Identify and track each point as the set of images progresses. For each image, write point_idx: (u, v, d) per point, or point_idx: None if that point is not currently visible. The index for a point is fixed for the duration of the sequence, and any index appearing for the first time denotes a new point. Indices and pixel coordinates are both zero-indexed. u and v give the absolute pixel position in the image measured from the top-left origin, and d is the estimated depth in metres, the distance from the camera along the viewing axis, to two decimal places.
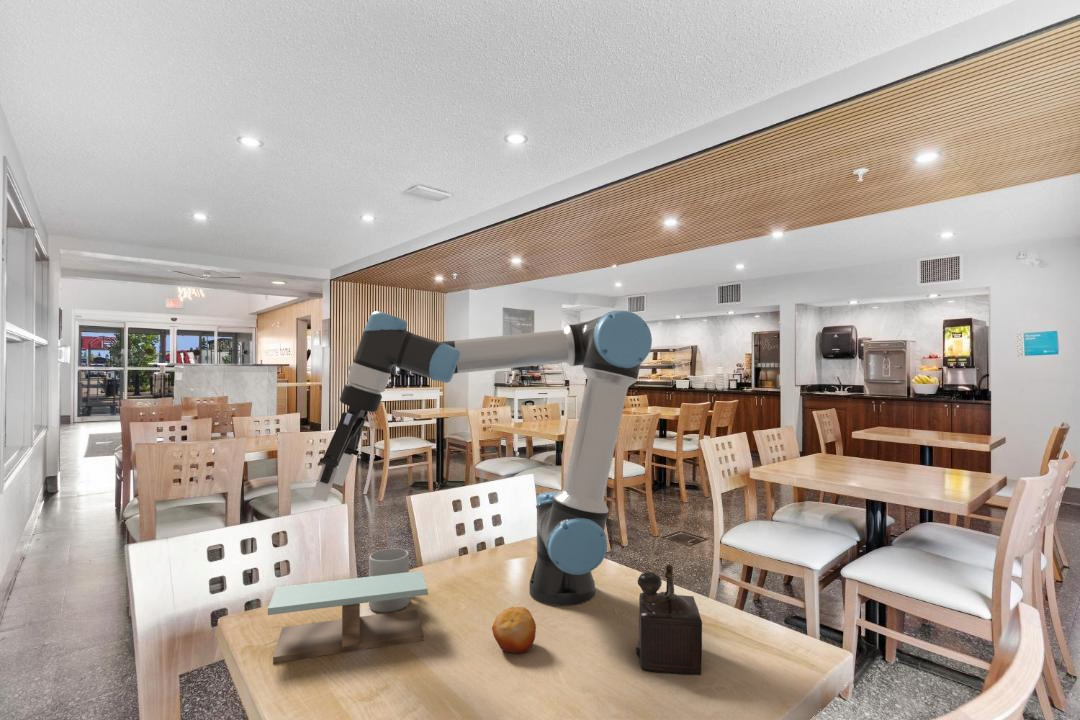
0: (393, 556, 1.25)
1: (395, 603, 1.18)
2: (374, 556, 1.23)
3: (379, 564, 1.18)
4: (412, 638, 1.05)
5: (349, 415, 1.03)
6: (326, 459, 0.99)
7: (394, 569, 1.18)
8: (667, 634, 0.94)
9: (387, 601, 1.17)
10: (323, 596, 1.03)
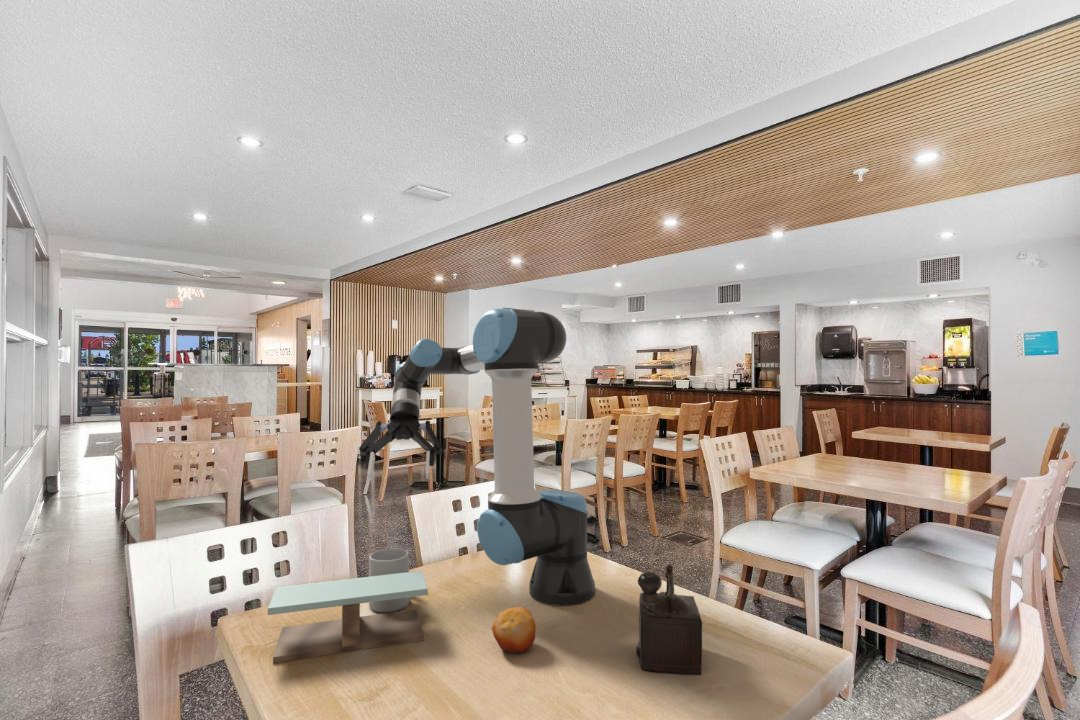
0: (393, 556, 1.25)
1: (395, 603, 1.18)
2: (374, 556, 1.23)
3: (379, 564, 1.18)
4: (412, 638, 1.05)
5: None
6: (360, 452, 1.38)
7: (394, 569, 1.18)
8: (667, 634, 0.94)
9: (387, 601, 1.17)
10: (323, 596, 1.03)
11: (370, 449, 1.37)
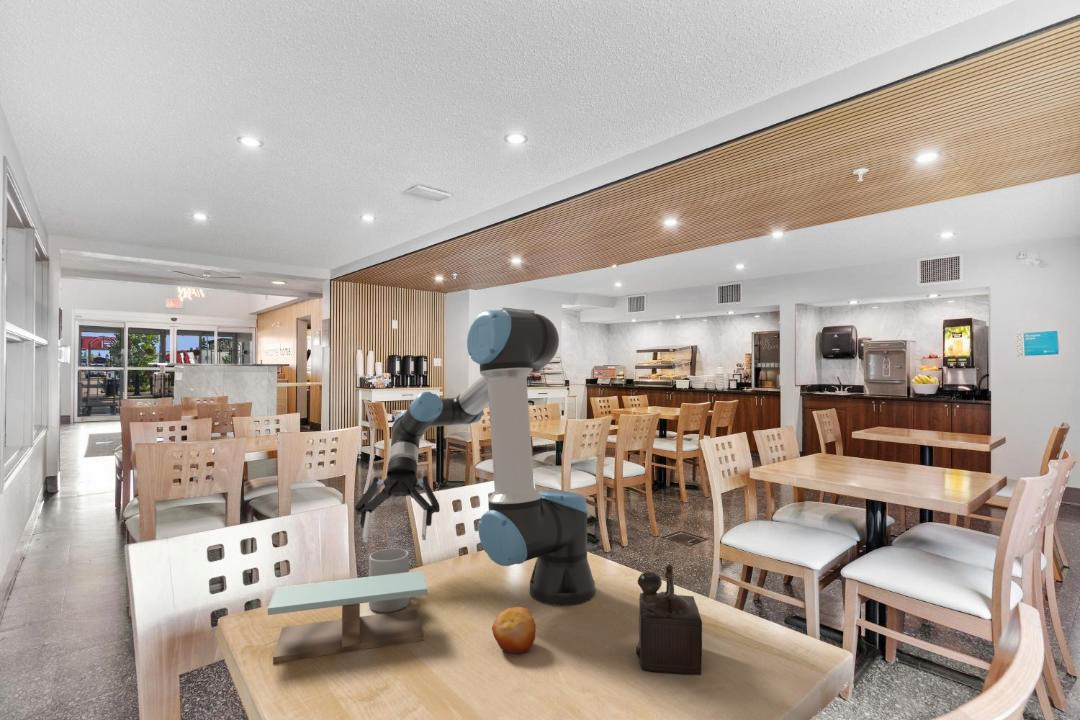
0: (393, 556, 1.25)
1: (395, 603, 1.18)
2: (374, 556, 1.23)
3: (379, 564, 1.18)
4: (412, 638, 1.05)
5: None
6: None
7: (394, 569, 1.18)
8: (667, 634, 0.94)
9: (387, 601, 1.17)
10: (323, 596, 1.03)
11: (366, 508, 1.34)
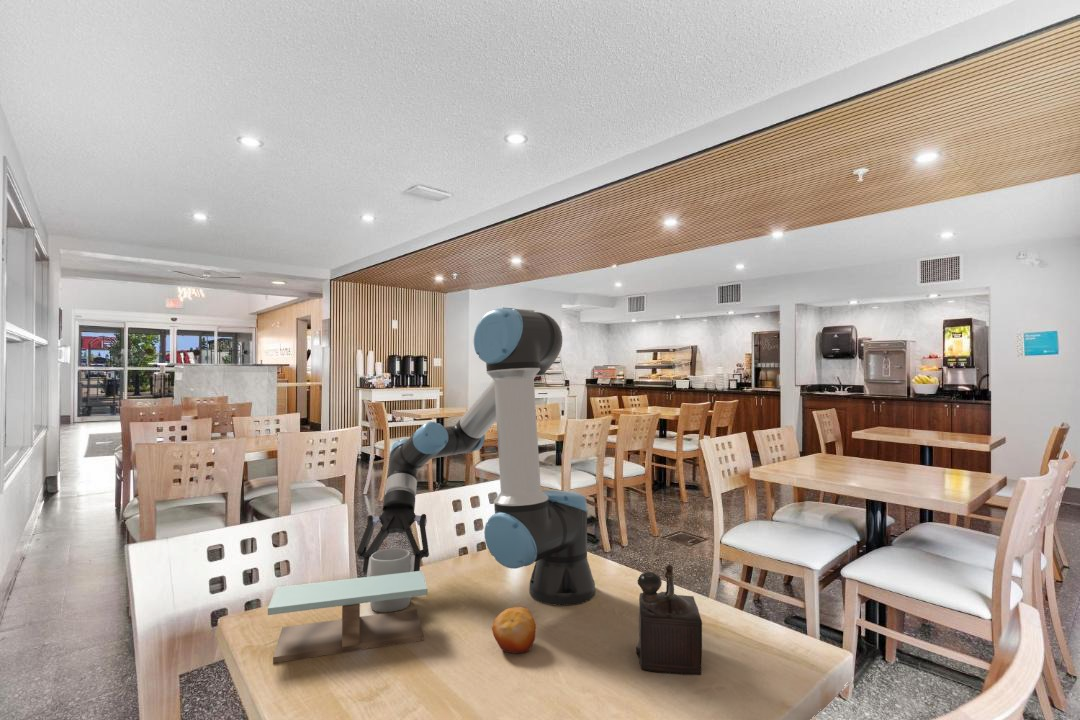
0: (394, 556, 1.25)
1: (397, 603, 1.18)
2: (375, 556, 1.23)
3: (381, 564, 1.18)
4: (412, 638, 1.05)
5: None
6: (358, 555, 1.25)
7: (395, 569, 1.18)
8: (667, 634, 0.94)
9: (389, 601, 1.17)
10: (323, 596, 1.03)
11: (369, 553, 1.24)
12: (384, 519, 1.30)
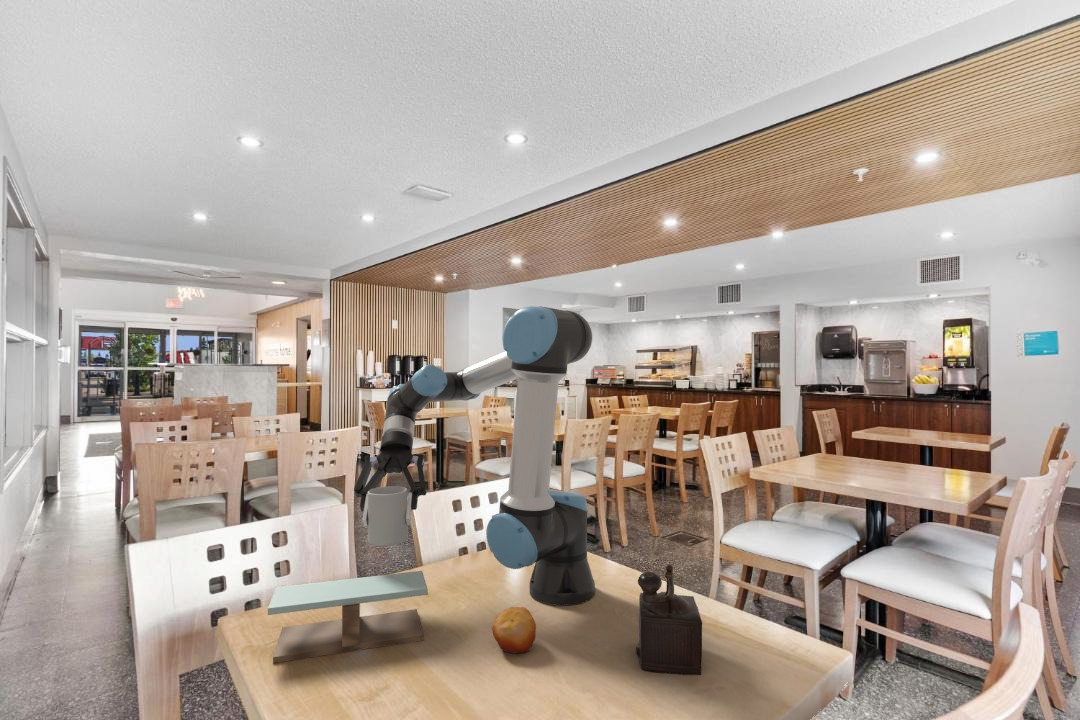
0: (392, 494, 1.25)
1: (394, 537, 1.17)
2: (372, 493, 1.22)
3: (377, 498, 1.17)
4: (412, 638, 1.05)
5: None
6: (355, 493, 1.25)
7: (392, 503, 1.17)
8: (667, 634, 0.94)
9: (386, 535, 1.17)
10: (323, 596, 1.03)
11: (366, 490, 1.23)
12: (381, 459, 1.30)
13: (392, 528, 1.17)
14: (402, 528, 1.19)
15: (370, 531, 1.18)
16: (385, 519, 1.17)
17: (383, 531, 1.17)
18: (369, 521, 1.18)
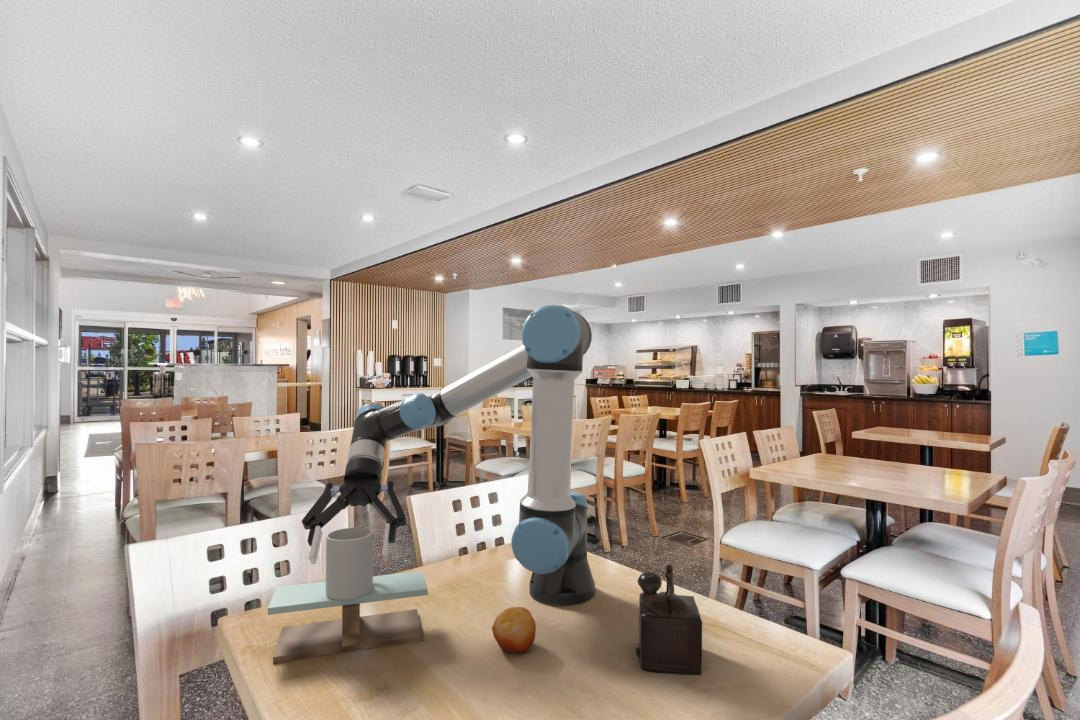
0: (355, 536, 1.09)
1: (355, 589, 1.02)
2: (333, 536, 1.07)
3: (337, 544, 1.02)
4: (412, 638, 1.05)
5: None
6: None
7: (354, 550, 1.02)
8: (667, 634, 0.94)
9: (346, 587, 1.01)
10: (323, 596, 1.03)
11: (316, 522, 1.08)
12: (343, 490, 1.14)
13: (353, 578, 1.02)
14: (365, 578, 1.04)
15: (328, 582, 1.02)
16: (345, 568, 1.01)
17: (343, 582, 1.01)
18: (327, 570, 1.03)
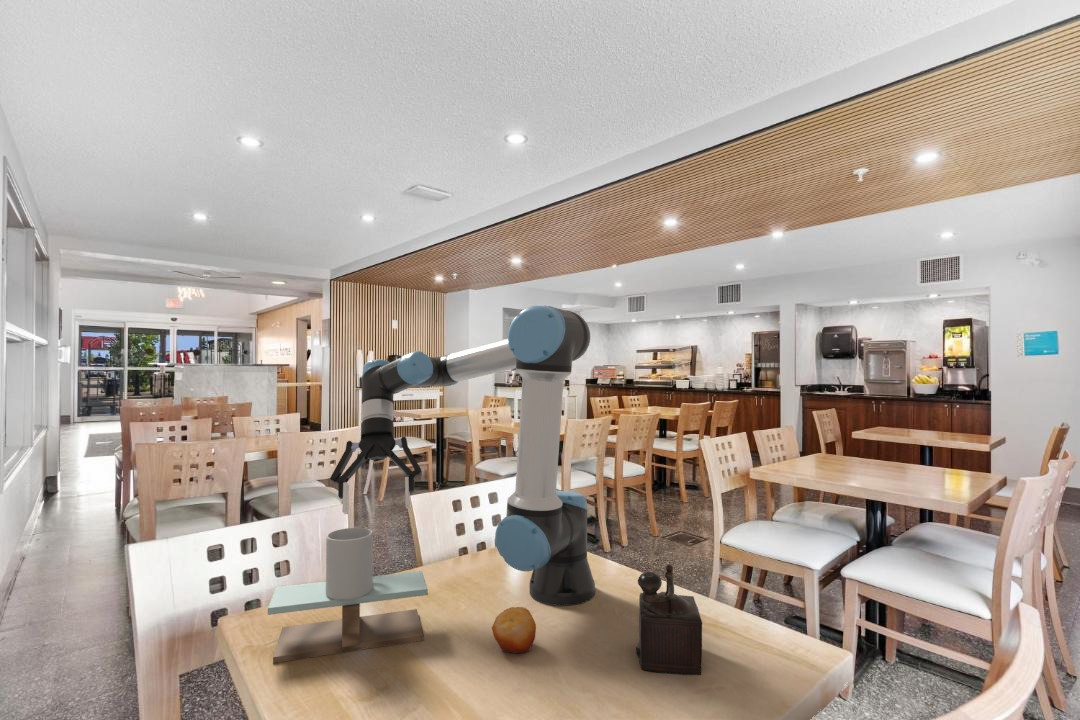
0: (355, 536, 1.09)
1: (355, 589, 1.02)
2: (333, 536, 1.07)
3: (337, 544, 1.02)
4: (412, 638, 1.05)
5: None
6: None
7: (354, 550, 1.02)
8: (667, 634, 0.94)
9: (346, 587, 1.01)
10: (323, 596, 1.03)
11: (342, 479, 1.25)
12: (362, 448, 1.29)
13: (353, 578, 1.02)
14: (365, 578, 1.04)
15: (328, 582, 1.02)
16: (345, 568, 1.01)
17: (343, 583, 1.01)
18: (327, 570, 1.03)
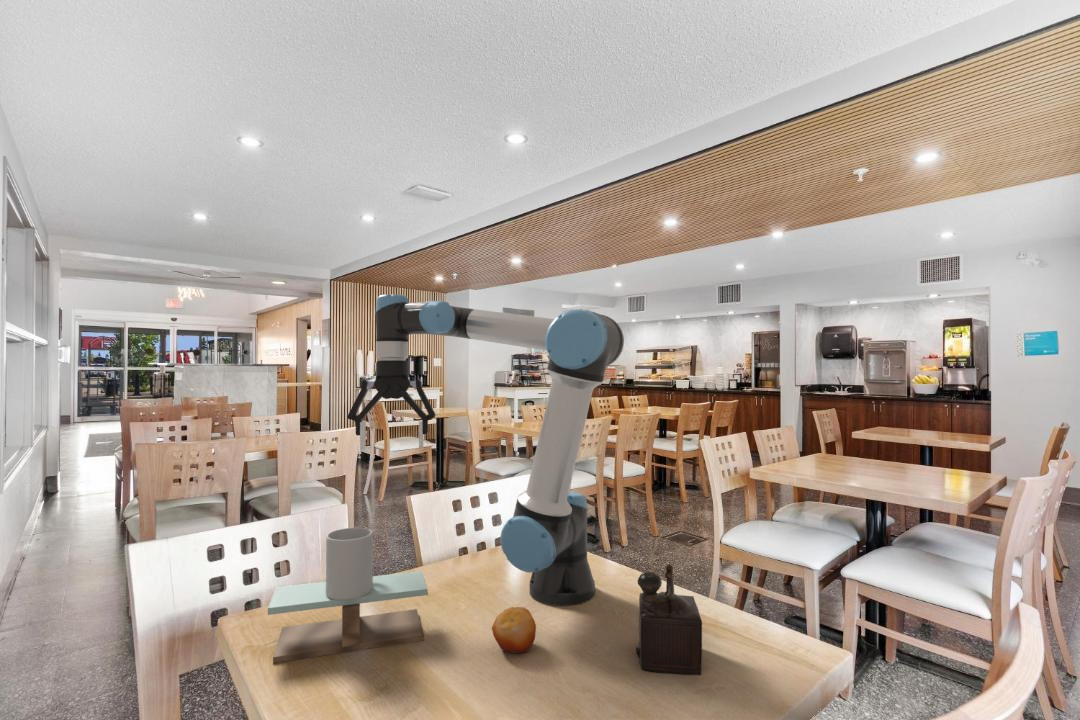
0: (355, 536, 1.09)
1: (355, 589, 1.02)
2: (333, 536, 1.07)
3: (337, 544, 1.02)
4: (412, 638, 1.05)
5: None
6: None
7: (354, 550, 1.02)
8: (667, 634, 0.94)
9: (346, 587, 1.01)
10: (323, 596, 1.03)
11: (359, 418, 1.30)
12: (378, 388, 1.31)
13: (353, 578, 1.02)
14: (365, 578, 1.04)
15: (328, 582, 1.02)
16: (345, 568, 1.01)
17: (343, 582, 1.01)
18: (327, 570, 1.03)
